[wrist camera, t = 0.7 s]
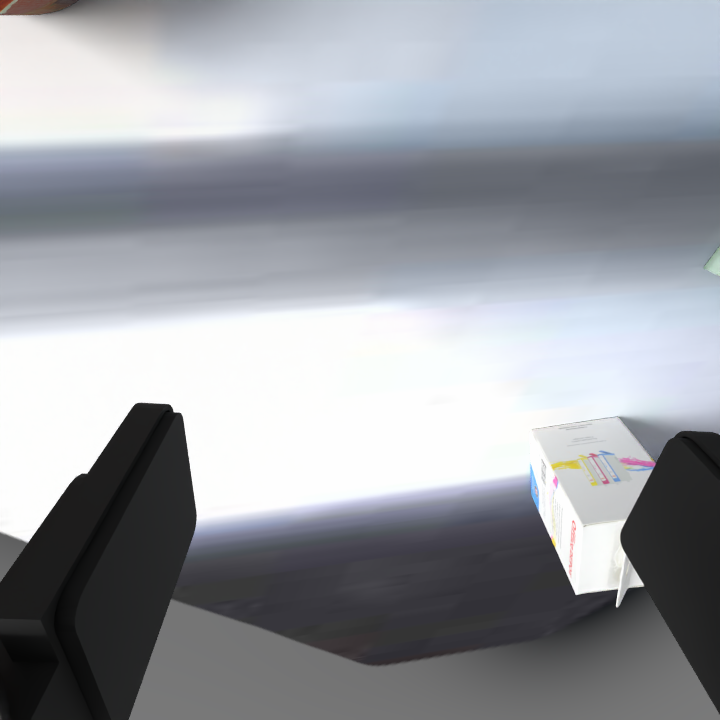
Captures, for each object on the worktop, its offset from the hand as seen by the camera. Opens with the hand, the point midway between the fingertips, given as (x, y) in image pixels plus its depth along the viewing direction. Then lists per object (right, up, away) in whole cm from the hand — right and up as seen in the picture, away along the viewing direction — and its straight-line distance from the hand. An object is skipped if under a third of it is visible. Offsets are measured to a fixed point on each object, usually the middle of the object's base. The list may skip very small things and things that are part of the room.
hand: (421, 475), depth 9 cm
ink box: (+20, -7, +37) cm, 43 cm away
